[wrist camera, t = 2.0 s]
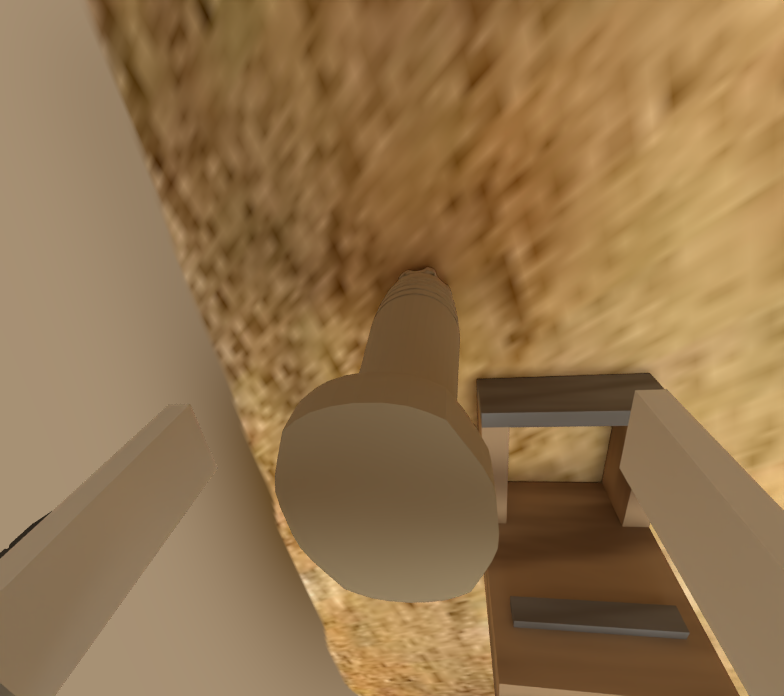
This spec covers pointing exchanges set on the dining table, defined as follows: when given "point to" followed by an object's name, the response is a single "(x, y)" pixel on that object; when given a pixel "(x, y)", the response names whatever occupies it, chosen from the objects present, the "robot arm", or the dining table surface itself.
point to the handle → (394, 461)
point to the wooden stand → (583, 562)
